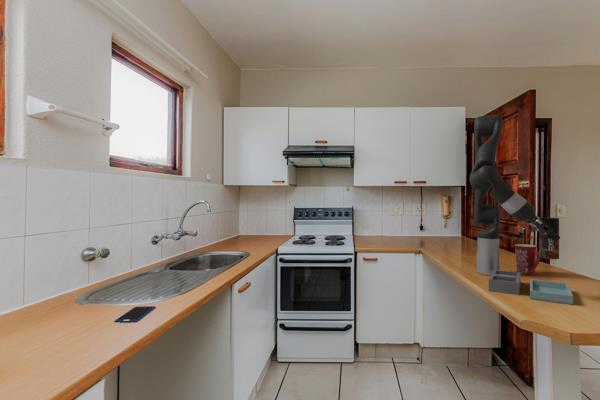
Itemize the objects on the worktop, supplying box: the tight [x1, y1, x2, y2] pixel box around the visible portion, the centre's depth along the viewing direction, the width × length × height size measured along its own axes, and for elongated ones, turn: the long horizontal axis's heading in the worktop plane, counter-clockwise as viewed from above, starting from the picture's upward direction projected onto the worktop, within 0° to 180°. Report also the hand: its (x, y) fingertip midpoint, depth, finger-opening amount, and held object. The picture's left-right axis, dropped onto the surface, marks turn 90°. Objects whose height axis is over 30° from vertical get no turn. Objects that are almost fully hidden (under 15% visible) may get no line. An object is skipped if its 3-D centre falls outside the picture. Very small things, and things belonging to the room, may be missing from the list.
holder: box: [488, 269, 522, 296], centre depth 134 cm, size 21×10×4 cm, turn 144°
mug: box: [513, 243, 541, 276], centre depth 155 cm, size 13×9×14 cm
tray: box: [529, 278, 574, 306], centre depth 122 cm, size 20×12×3 cm, turn 144°
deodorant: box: [538, 217, 560, 260], centre depth 122 cm, size 6×6×15 cm
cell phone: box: [113, 305, 157, 324], centre depth 105 cm, size 7×14×1 cm, turn 0°
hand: (554, 238), depth 121 cm, fingers closed on deodorant, 6 cm apart
